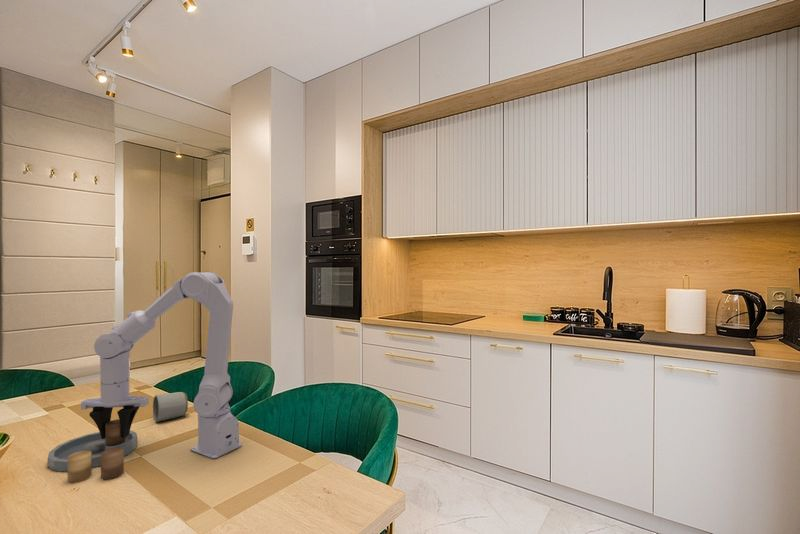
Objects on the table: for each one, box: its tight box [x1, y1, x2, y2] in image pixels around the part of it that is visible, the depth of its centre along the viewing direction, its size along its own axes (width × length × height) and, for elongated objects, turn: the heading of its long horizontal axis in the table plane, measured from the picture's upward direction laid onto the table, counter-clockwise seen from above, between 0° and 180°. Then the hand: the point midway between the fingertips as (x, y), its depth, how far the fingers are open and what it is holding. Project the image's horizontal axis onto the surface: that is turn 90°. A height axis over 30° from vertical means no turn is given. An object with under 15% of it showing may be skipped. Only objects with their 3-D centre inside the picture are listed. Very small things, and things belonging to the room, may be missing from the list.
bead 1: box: [67, 451, 93, 484], centre depth 85 cm, size 4×4×5 cm
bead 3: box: [100, 448, 125, 481], centre depth 86 cm, size 4×4×5 cm
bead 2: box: [105, 418, 126, 446], centre depth 96 cm, size 4×4×5 cm
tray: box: [47, 430, 139, 473], centre depth 96 cm, size 17×17×2 cm
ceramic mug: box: [152, 391, 189, 423], centre depth 120 cm, size 11×8×8 cm
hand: (115, 436), depth 96 cm, fingers closed on bead 2, 4 cm apart
